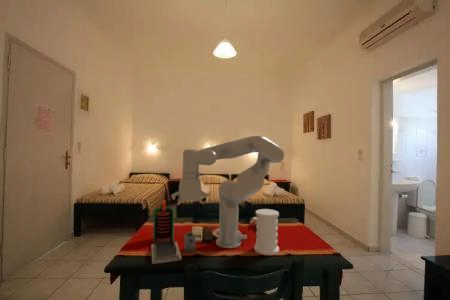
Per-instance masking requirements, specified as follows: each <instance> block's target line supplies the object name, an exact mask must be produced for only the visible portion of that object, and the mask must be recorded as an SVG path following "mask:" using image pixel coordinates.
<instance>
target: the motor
mask: <svg viewBox="0 0 450 300" xmlns="http://www.w3.org/2000/svg"><path fill="white" fill-rule="evenodd" d="M152 230H153V234H152V238H153V240H152V241H153V243H156V242H165V241H175V240H174V233H175V209H174V208H172V207H167V201H166V200H165V199H163V200H161V207H158V208H154V210H153V229H152Z"/></svg>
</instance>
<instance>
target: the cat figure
mask: <svg viewBox="0 0 450 300" xmlns="http://www.w3.org/2000/svg"><path fill="white" fill-rule="evenodd" d="M257 217H258V216H253V217H252V220H250V221H249V224H250V225H251V227H252V228H253V229H255V227H256V225H257V221H256V219H257Z"/></svg>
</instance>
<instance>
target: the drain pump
mask: <svg viewBox="0 0 450 300" xmlns="http://www.w3.org/2000/svg"><path fill="white" fill-rule="evenodd" d="M183 241H184V246H183V250H184V252H186V253H193V252H195V251H196V233H194V232H192V231H188V232H187V233H186V234H185V233H184V240H183Z"/></svg>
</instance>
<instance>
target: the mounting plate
mask: <svg viewBox="0 0 450 300" xmlns="http://www.w3.org/2000/svg"><path fill="white" fill-rule="evenodd" d="M150 246H151V247H150V248H151V264H152V265H155V264H163V263H169V262H170V263H171V262H177V261H182V260H183V258H182V255H181V254H182V253H181V251H180V247H179V244H178V241H175V240H173V241H172V240H171V241H165V242H156V241H155V242H154V243H152V244H151V245H150Z"/></svg>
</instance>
